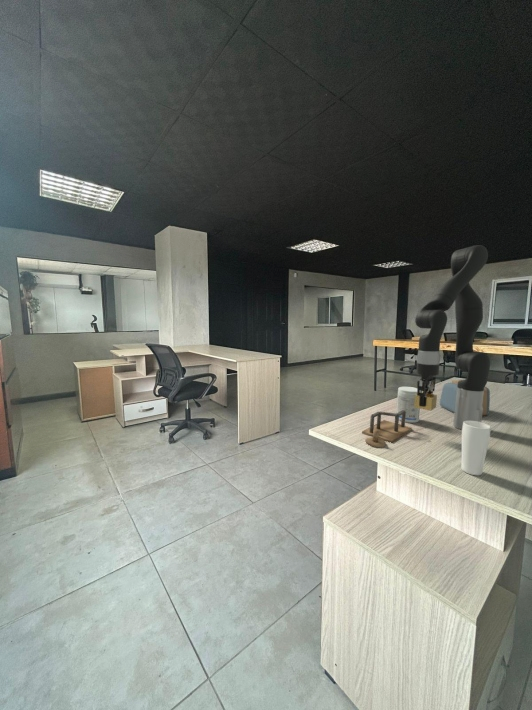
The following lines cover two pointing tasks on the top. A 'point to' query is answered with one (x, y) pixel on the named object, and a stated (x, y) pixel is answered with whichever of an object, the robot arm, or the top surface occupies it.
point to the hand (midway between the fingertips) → (425, 404)
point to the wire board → (388, 426)
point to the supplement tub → (408, 404)
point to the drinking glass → (474, 446)
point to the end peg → (375, 440)
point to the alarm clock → (450, 397)
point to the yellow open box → (430, 402)
